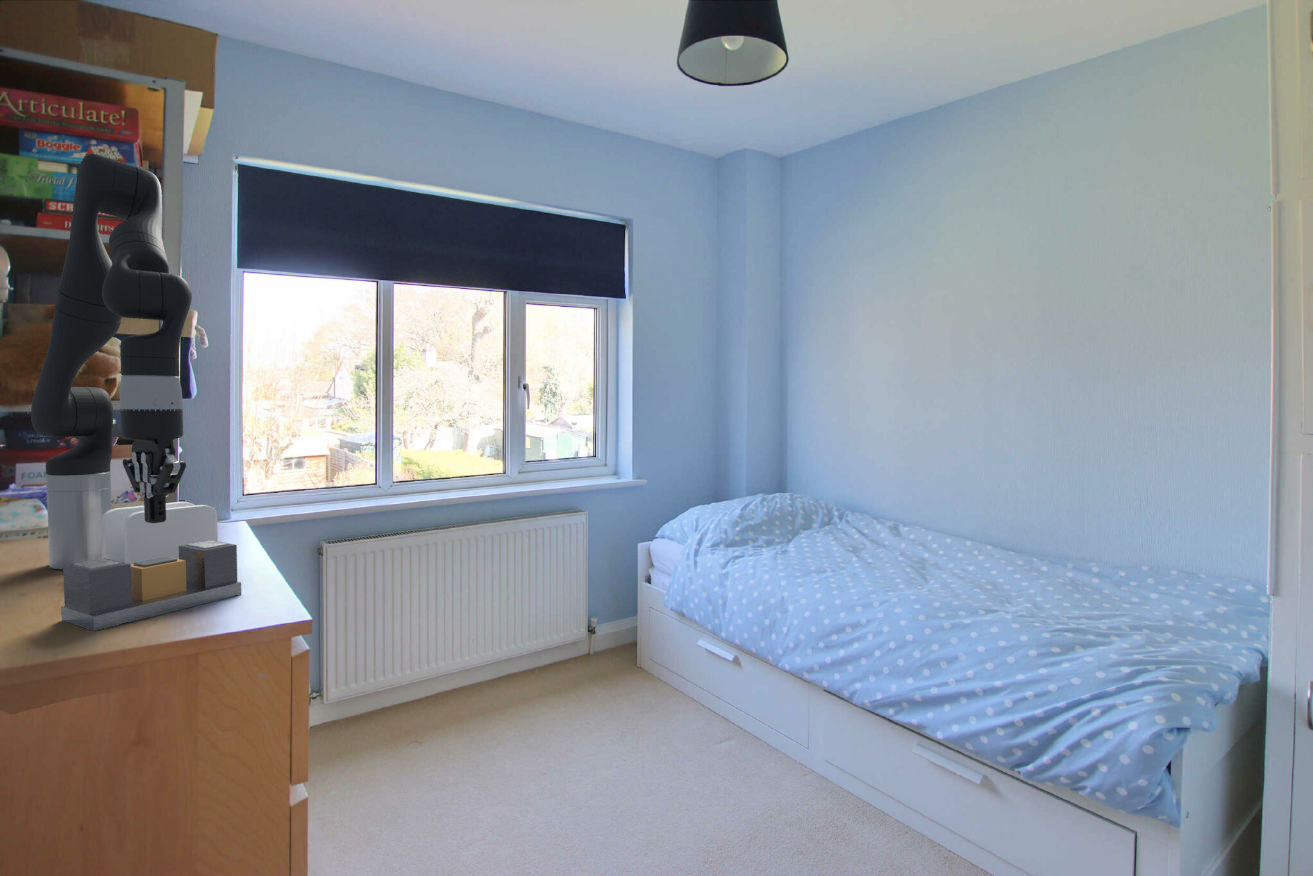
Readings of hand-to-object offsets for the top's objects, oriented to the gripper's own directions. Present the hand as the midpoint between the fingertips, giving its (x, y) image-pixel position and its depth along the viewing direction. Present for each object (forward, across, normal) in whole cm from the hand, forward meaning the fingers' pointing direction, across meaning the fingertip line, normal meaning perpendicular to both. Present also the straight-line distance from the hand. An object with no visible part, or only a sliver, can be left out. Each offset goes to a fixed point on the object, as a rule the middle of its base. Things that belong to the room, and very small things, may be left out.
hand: (155, 522), depth 103 cm
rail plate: (+13, 0, 0) cm, 13 cm away
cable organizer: (+13, +25, -13) cm, 31 cm away
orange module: (+11, 0, 0) cm, 11 cm away
